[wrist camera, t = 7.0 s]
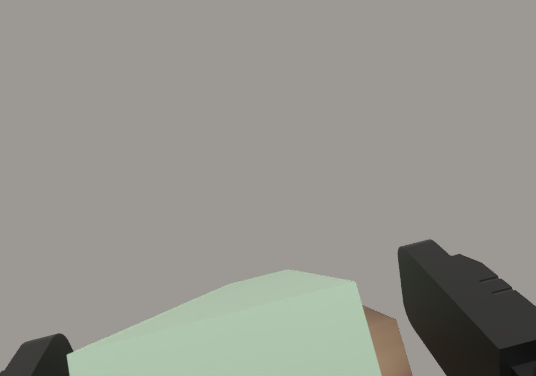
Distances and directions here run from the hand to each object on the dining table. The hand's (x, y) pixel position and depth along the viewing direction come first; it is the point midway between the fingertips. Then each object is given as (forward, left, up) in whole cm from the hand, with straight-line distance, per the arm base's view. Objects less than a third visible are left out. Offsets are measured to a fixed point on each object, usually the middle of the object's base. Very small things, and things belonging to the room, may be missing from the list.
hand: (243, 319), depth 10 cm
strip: (0, +8, -2) cm, 9 cm away
